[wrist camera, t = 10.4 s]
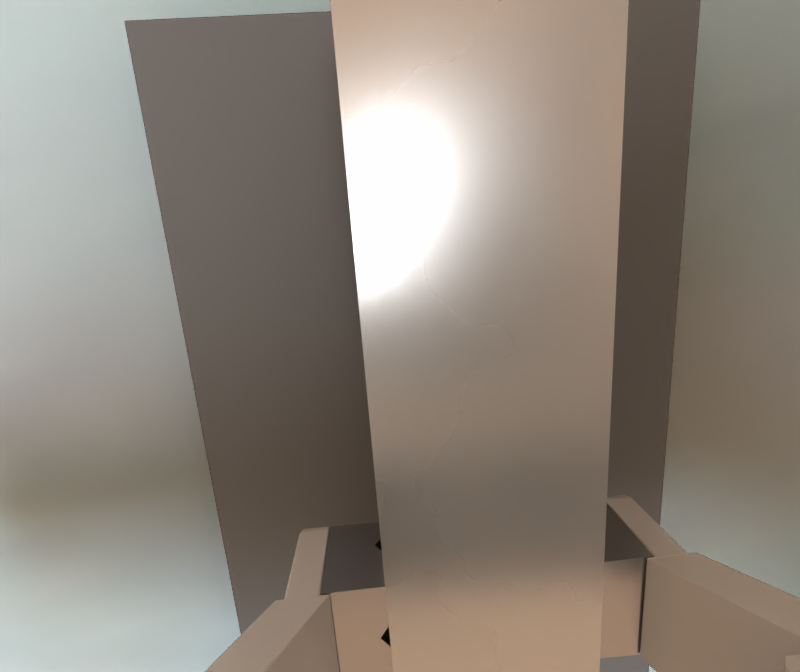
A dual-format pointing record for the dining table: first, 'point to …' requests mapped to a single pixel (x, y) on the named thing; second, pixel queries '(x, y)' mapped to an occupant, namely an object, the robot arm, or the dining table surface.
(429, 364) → the rail
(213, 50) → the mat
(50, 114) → the dining table surface
